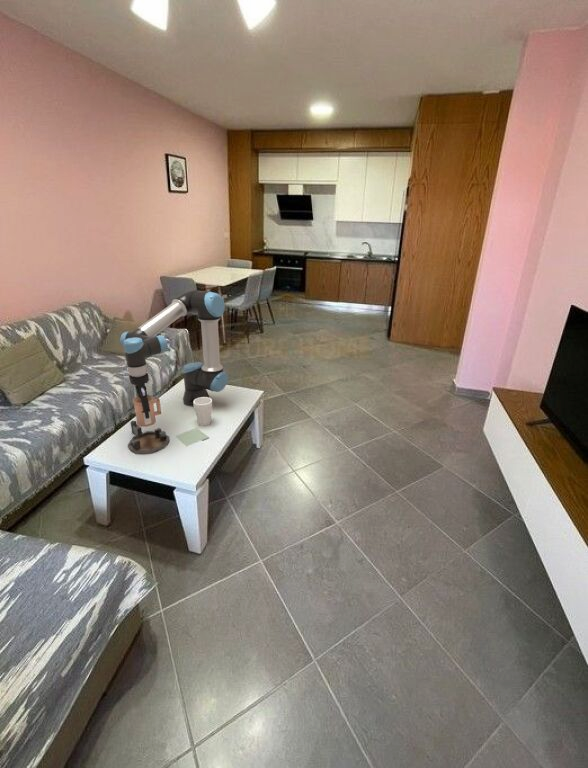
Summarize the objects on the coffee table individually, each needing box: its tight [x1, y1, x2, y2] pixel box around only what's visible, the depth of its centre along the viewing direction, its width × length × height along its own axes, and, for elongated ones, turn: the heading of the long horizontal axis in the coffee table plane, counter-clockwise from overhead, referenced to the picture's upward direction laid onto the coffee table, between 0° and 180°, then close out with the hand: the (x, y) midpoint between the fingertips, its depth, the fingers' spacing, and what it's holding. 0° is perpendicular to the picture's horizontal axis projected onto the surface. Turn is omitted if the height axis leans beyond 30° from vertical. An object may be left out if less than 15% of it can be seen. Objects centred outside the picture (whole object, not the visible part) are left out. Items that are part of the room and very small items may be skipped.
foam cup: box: [193, 397, 213, 427], centre depth 188 cm, size 10×9×13 cm
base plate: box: [128, 434, 170, 456], centre depth 171 cm, size 18×18×1 cm
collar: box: [127, 420, 170, 454], centre depth 171 cm, size 24×17×6 cm
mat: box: [174, 427, 210, 447], centre depth 177 cm, size 12×12×1 cm
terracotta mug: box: [132, 394, 162, 428], centre depth 165 cm, size 9×11×12 cm
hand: (146, 419), depth 166 cm, fingers closed on terracotta mug, 8 cm apart
